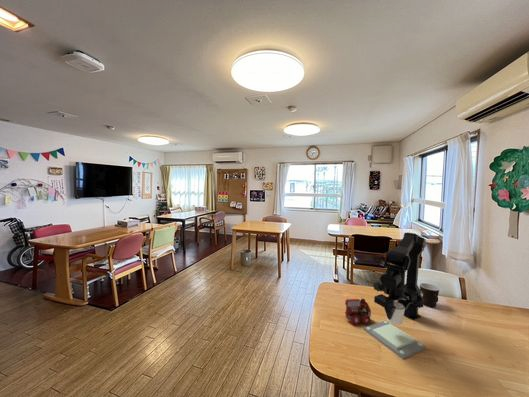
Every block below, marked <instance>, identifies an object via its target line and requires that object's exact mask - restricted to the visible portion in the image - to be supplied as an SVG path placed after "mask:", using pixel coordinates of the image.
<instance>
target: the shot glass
mask: <svg viewBox="0 0 529 397" xmlns="http://www.w3.org/2000/svg"><path fill="white" fill-rule="evenodd" d="M393 306H395V307H396V309H395V311H394V313H393V316H392V318H391V320H389V319H388V318H387V317H386V321H387V322H388V323H390V324H392V325H396V326H401V325H402V324H403V322H404V321H403V320H404V316H405V315H404V311H405V306H404V305H403V304H401V303H399V302H397V301H394V305H393Z"/></svg>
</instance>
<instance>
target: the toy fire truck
mask: <svg viewBox="0 0 529 397" xmlns="http://www.w3.org/2000/svg"><path fill="white" fill-rule="evenodd" d="M344 302H345V317H346V318H347V319H348V320H349V319H350V322H351V324H353V325H354V326H357V325H359V324H360V322H362V323H363V325H366V326H367V325H369V324H371V319H372V318H371V315H372V314H371V313H372V311H371V308H370V305H369V303H368V302H367V301H366V299H365V298H361V299H360V298H352V299H351V298H349V299H346V300H345V301H344Z"/></svg>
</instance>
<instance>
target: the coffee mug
mask: <svg viewBox="0 0 529 397" xmlns="http://www.w3.org/2000/svg"><path fill="white" fill-rule="evenodd" d="M419 289H420V291H421V296H422V299H423V307H427V308H430V309H431V308H432V309H434V308H436V306H437V303H438V302H439V293H440V288H439V287H438V286H437V285H434V284H431V283H425V282H421V283H419Z"/></svg>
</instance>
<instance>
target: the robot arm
mask: <svg viewBox="0 0 529 397" xmlns="http://www.w3.org/2000/svg"><path fill="white" fill-rule="evenodd" d="M426 247H427V240H426V239H425V238H424V237H422V236H420V235H419V234H417V233H413V232H404V233H403V237H402V239H401V241H400V242H399V244H398V245H397V246H394V247H392V248H390V249H389V251H387V253H386V255H385V259H384V262H383V268H385V269H386V270H385V272H384V273H383V274H382V275H381V276H380V277H379V281H378V282H377V281H375V282H373V289H374V290H375V291H376V292H383V293H384V294H382V293H381V294H377V295H375V296H374V298H373V302H374V303H375V304H377V305H379V306H380V307H382V308H383V309H384V311H385V314H386V319H387V318H388V319H389V320H391V318H392V316H393V313H394V311H395V309H396V307H395V306H393V305H394V301H396V302H399V303H401V304H403V305H404V306H405V311H404V316H405V317H407V318H409V319H410V320H413V321H414V320H417V319H419V318H422V316H421V315H420V314H419V309H421V308H424V305H423V299H422V296H421V291H420V286H419V285H418V281H419V280H418V278H419V277H418V276H419V265H420V255H421V254H422V253H423V252H424V250H425V248H426Z"/></svg>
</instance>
